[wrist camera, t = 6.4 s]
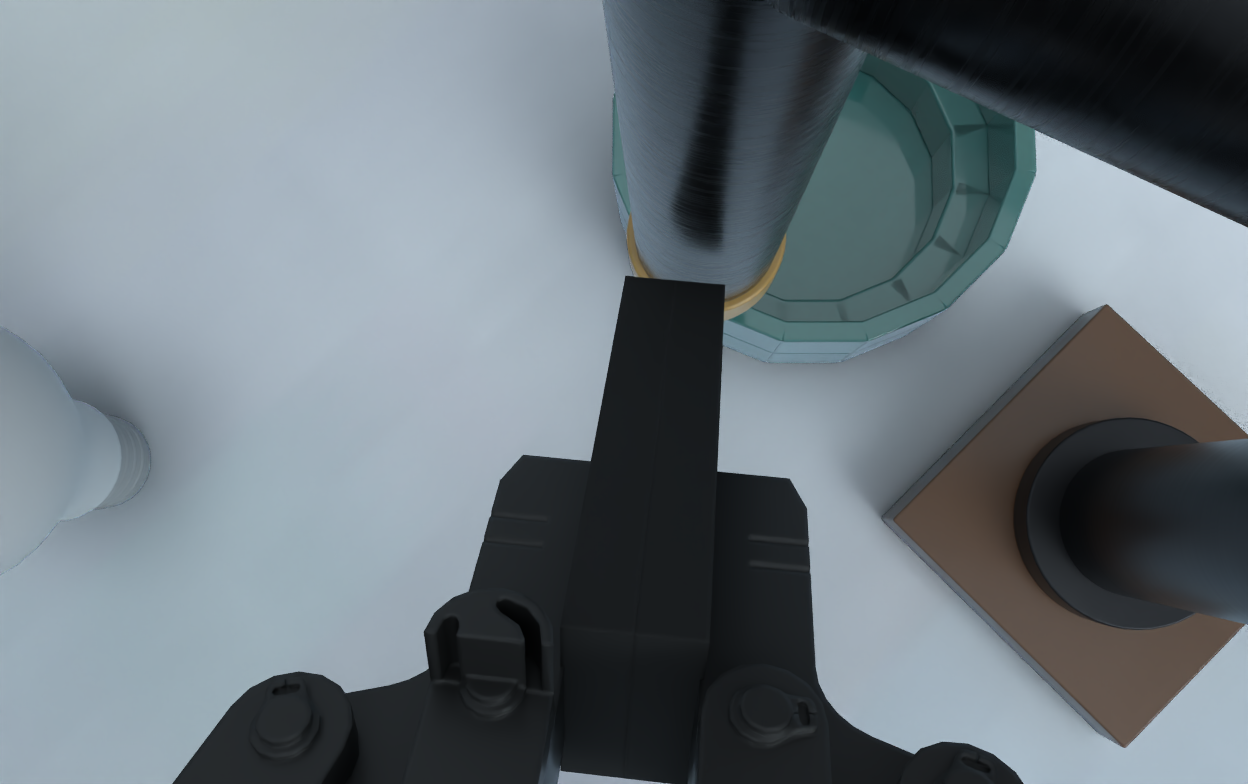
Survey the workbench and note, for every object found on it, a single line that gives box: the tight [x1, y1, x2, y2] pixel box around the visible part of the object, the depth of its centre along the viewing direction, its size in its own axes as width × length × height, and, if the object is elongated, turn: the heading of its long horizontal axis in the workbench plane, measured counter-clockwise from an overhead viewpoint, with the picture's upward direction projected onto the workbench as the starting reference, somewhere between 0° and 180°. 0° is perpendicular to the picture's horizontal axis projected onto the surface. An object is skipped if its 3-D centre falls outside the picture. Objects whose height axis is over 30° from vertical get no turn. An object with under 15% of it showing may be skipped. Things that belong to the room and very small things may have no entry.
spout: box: [603, 0, 1248, 321], centre depth 12 cm, size 16×4×14 cm, turn 63°
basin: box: [612, 54, 1036, 363], centre depth 26 cm, size 10×10×4 cm
